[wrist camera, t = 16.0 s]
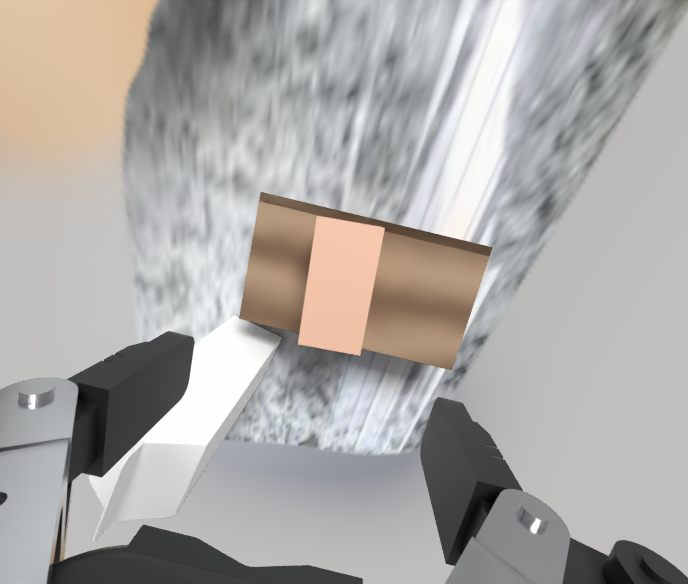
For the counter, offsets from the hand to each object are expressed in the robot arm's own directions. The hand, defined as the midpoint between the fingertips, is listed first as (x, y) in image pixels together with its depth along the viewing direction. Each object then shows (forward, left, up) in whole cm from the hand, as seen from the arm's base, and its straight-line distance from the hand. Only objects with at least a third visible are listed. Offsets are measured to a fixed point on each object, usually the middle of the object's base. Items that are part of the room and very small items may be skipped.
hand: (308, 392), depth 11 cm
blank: (0, 0, -20) cm, 20 cm away
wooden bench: (0, +2, -26) cm, 26 cm away
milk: (+11, -9, -26) cm, 30 cm away
